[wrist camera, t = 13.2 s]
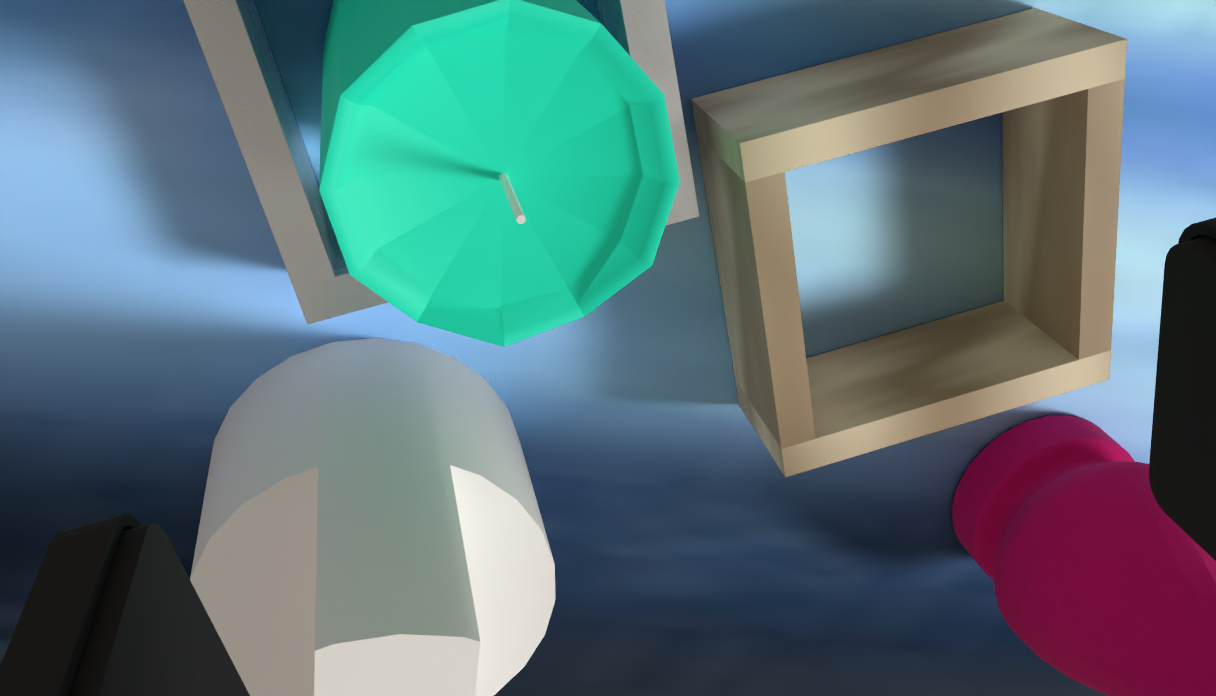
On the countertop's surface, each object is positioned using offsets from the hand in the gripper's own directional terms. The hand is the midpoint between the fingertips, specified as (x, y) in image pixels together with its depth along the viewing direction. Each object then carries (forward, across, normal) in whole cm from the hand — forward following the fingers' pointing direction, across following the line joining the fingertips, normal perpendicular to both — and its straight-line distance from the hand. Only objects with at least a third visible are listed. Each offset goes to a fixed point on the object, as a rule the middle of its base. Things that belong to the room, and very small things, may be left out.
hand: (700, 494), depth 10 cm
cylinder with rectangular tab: (+20, +7, +12) cm, 24 cm away
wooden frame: (+20, -10, +8) cm, 24 cm away
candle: (+20, +1, 0) cm, 20 cm away
